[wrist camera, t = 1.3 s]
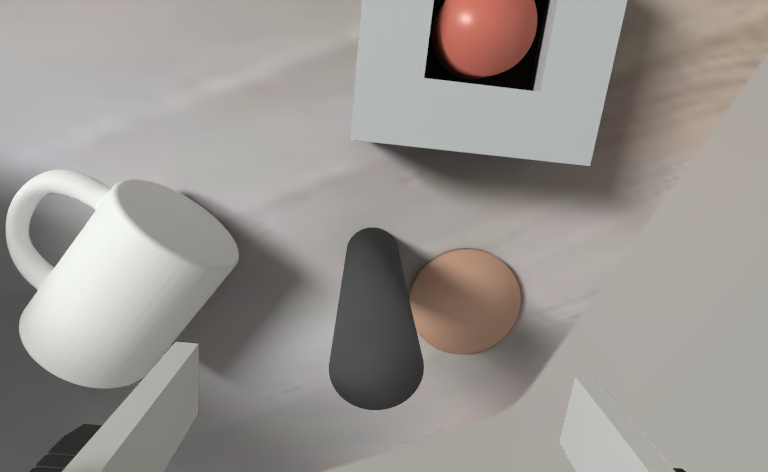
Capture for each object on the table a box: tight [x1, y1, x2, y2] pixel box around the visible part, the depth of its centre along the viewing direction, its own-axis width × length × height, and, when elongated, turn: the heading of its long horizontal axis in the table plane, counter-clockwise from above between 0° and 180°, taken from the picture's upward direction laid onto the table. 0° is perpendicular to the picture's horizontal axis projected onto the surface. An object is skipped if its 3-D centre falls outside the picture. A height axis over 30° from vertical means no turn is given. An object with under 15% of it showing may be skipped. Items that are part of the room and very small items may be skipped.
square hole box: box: [350, 0, 628, 166], centre depth 24 cm, size 12×12×8 cm
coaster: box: [409, 248, 521, 354], centre depth 32 cm, size 8×8×1 cm
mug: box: [6, 170, 239, 389], centre depth 27 cm, size 12×10×8 cm
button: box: [432, 0, 537, 80], centre depth 23 cm, size 5×5×3 cm
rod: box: [329, 228, 424, 410], centre depth 24 cm, size 4×4×15 cm
